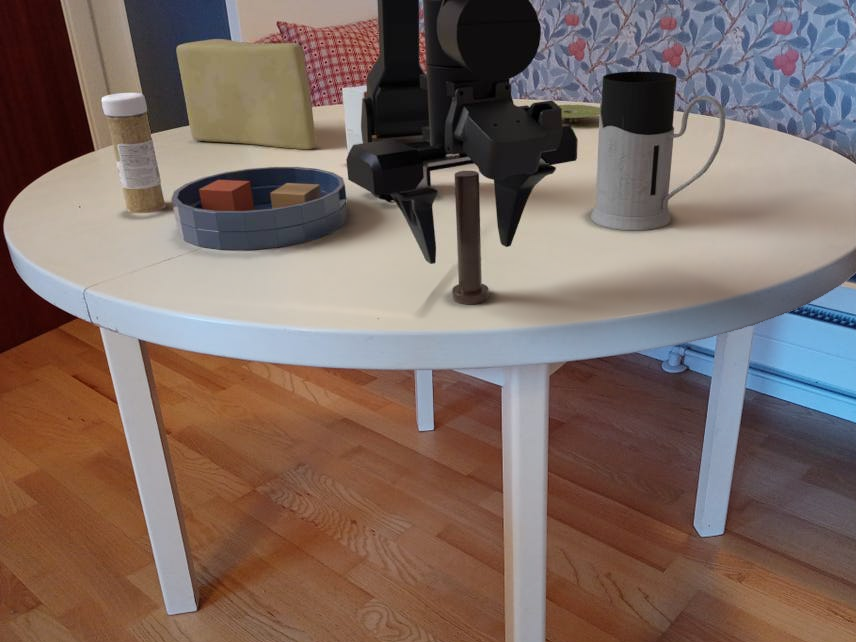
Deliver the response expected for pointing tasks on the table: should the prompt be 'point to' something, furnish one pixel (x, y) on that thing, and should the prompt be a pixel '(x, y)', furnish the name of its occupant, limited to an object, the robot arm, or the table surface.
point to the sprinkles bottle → (134, 151)
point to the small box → (353, 114)
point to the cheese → (247, 93)
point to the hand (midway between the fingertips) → (469, 253)
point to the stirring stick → (468, 240)
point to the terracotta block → (227, 196)
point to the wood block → (294, 194)
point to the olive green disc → (578, 111)
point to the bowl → (262, 211)
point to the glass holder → (639, 149)
